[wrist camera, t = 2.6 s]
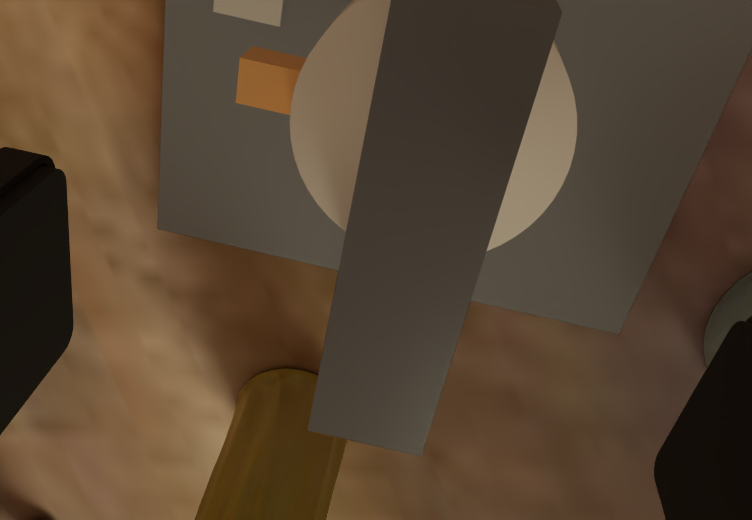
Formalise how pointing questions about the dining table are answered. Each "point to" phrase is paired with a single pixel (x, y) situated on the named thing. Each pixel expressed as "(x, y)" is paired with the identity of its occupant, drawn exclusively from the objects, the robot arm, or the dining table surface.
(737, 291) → the grey-green cup
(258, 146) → the post base
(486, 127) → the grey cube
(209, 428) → the dining table surface
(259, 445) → the vase
